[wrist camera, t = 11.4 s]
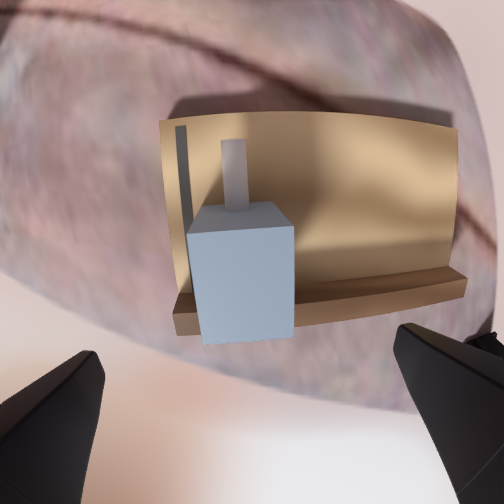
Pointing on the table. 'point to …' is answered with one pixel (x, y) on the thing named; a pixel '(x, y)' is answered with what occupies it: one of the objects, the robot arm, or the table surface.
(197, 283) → the block
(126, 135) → the table surface
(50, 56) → the table surface
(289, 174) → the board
